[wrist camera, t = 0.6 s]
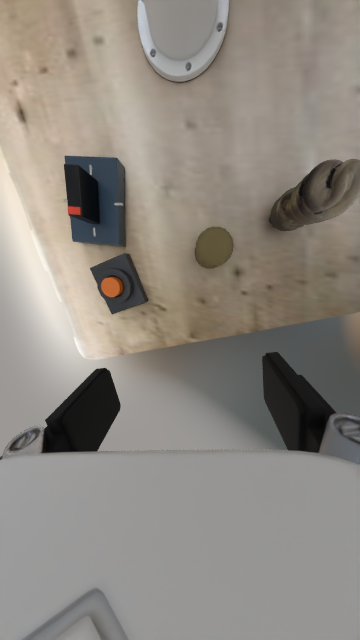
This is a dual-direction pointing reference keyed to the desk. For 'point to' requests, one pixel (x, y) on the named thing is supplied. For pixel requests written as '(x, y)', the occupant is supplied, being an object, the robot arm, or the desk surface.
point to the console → (103, 202)
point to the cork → (213, 247)
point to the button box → (128, 276)
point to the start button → (112, 286)
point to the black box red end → (82, 194)
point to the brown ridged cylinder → (318, 195)
